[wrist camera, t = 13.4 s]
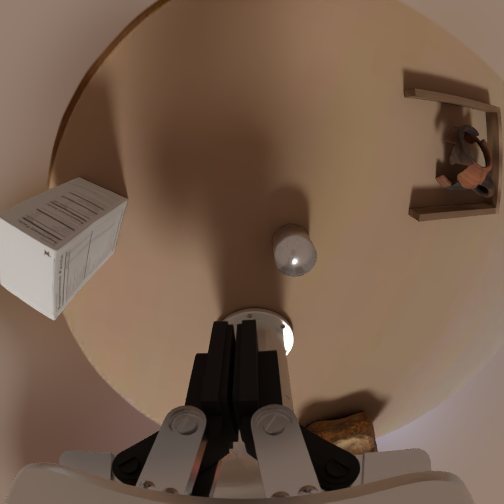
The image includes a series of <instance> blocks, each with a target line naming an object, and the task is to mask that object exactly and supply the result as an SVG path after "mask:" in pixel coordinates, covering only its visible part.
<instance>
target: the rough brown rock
mask: <svg viewBox="0 0 504 504" xmlns="http://www.w3.org/2000/svg"><path fill="white" fill-rule="evenodd" d="M306 429H308V430H309V431H311V432H313V433H314V434H316V435H318V436H320V437H322V438H323V439H325V440H327V441H329V442H331V443H333V444H334V445H336V446H338V447H340V448H342V449H344V450H346V451H348V452H350V453H351V454H353V455H364V453H370V452H378V451H377V445H376V441H375V433H374V428H373V423H372V420H371V419H370V418H369V417H368V416H367V415H366V412H360V413H356V414H353V415H351V416H348V417H346V418H342V419H338V420H325V421H317V422H313V423H311V424H310V425H309V426H308V427H306Z"/></svg>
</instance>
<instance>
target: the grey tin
mask: <svg viewBox="0 0 504 504" xmlns="http://www.w3.org/2000/svg"><path fill="white" fill-rule="evenodd" d="M272 246H273V252H274V257H275V263H276V266H277V268H278V269H279V270H280V271H281V272H282V273H283V274H285V275H288V276H294V277H295V276H301V275H304V274H306V273H307V272H309V271H310V270H311V269H312V268H313V266H314V265H315V263H316V259H317V253H316V250H315V247H314V245H313V243H312V242H311V240H310V238H309V236H308V234H307V232H306V231H305V230H304V229H303V228H302V227H301V226H298V225H295V224H288V225H284V226H282V227H280V228H279V229H278V230H277V231H276V232H275V234H274V236H273V239H272Z"/></svg>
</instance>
